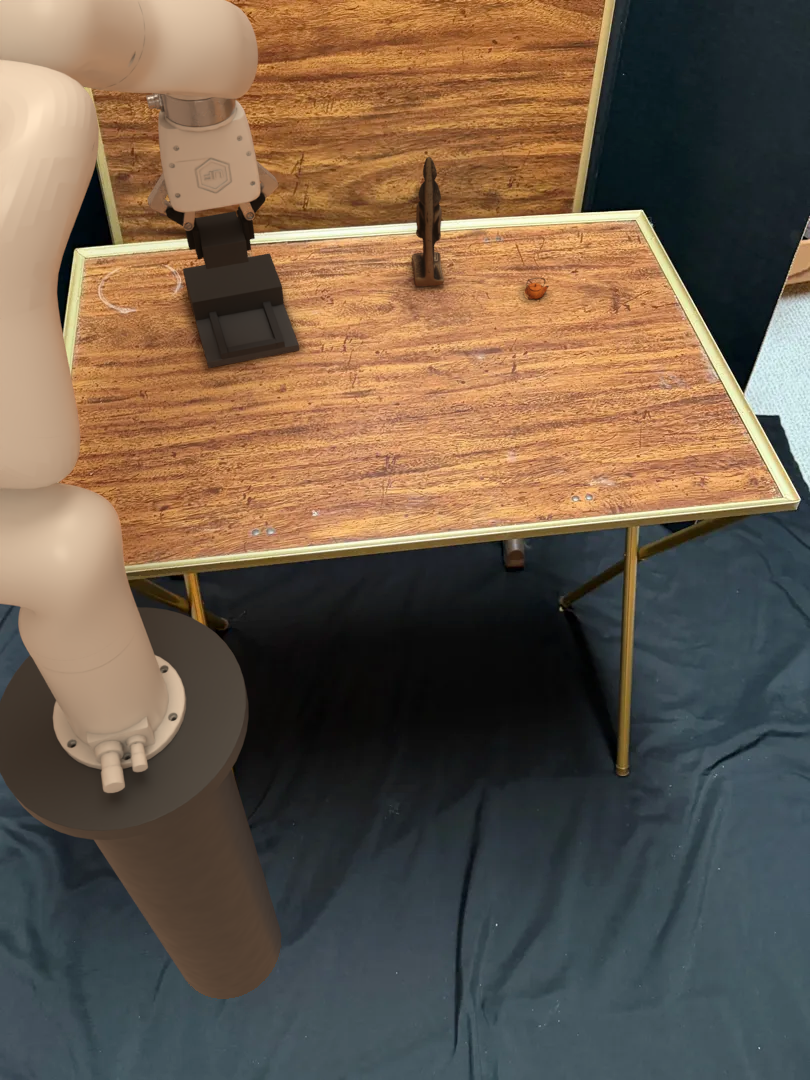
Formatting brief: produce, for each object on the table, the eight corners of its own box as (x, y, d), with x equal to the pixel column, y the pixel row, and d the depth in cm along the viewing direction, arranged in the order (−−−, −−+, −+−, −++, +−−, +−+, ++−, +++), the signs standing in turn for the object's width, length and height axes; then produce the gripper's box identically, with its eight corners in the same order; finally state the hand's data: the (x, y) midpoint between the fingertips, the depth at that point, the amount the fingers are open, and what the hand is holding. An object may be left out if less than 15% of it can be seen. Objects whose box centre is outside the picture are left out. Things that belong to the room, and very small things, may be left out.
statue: (439, 260, 139) (446, 128, 124) (445, 291, 135) (452, 159, 119) (410, 261, 139) (413, 129, 123) (415, 292, 135) (418, 160, 119)
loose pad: (248, 262, 114) (245, 240, 112) (206, 269, 113) (202, 247, 111) (238, 232, 118) (235, 210, 115) (197, 239, 117) (193, 217, 114)
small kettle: (529, 285, 136) (531, 269, 134) (548, 292, 135) (551, 276, 133) (520, 296, 135) (522, 280, 133) (539, 303, 134) (541, 287, 132)
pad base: (299, 350, 127) (297, 326, 124) (208, 368, 125) (203, 344, 122) (272, 277, 137) (269, 253, 133) (187, 292, 134) (182, 268, 131)
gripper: (120, 130, 97) (155, 280, 111) (287, 105, 100) (300, 254, 115) (111, 93, 101) (145, 242, 116) (271, 71, 105) (285, 218, 119)
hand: (222, 246), depth 115 cm, fingers closed on loose pad, 5 cm apart
